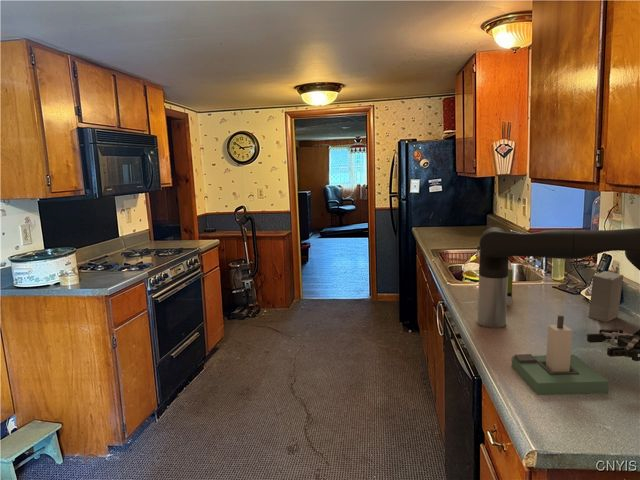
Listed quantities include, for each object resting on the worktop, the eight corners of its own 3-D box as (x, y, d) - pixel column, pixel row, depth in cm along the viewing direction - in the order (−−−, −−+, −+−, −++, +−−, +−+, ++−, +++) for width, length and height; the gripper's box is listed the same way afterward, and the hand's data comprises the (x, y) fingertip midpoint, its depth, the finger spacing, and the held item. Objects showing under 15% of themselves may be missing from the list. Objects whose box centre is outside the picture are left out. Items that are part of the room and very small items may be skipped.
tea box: (484, 293, 189) (485, 258, 187) (509, 294, 186) (511, 260, 183) (484, 304, 176) (485, 267, 173) (512, 306, 172) (513, 268, 170)
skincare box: (599, 312, 162) (602, 270, 159) (620, 318, 156) (625, 274, 153) (586, 317, 158) (590, 274, 155) (608, 323, 152) (612, 278, 149)
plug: (545, 375, 118) (548, 313, 115) (560, 374, 118) (564, 313, 115) (552, 382, 114) (556, 319, 111) (568, 382, 114) (573, 318, 111)
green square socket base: (511, 366, 123) (512, 353, 123) (573, 364, 123) (574, 351, 123) (537, 394, 109) (538, 380, 108) (607, 392, 109) (609, 378, 108)
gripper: (643, 319, 120) (582, 321, 121) (685, 340, 106) (616, 342, 107) (640, 345, 122) (580, 347, 122) (682, 369, 108) (614, 371, 108)
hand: (597, 344), depth 114 cm, fingers open, 8 cm apart
